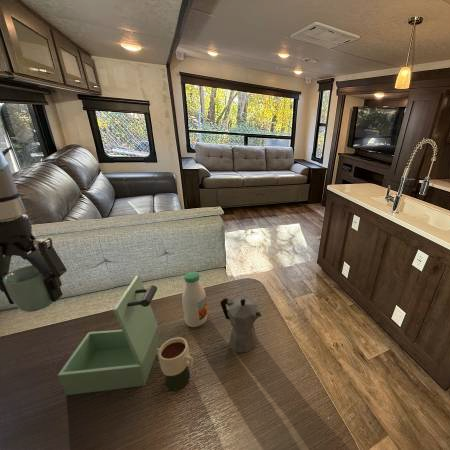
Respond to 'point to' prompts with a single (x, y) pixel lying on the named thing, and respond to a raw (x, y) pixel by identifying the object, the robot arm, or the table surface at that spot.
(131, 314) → the lid
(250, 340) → the coffeepot
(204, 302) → the milk bottle
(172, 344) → the character mug
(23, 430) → the table surface
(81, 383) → the chest
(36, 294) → the cup
